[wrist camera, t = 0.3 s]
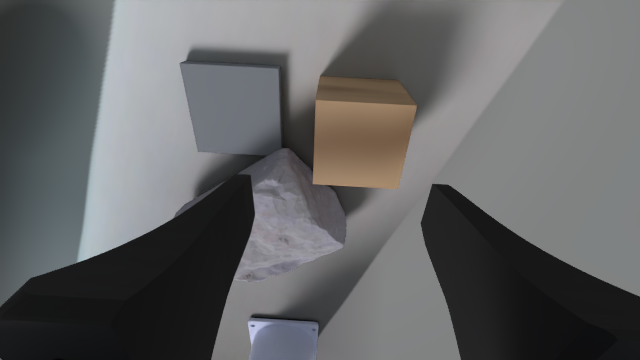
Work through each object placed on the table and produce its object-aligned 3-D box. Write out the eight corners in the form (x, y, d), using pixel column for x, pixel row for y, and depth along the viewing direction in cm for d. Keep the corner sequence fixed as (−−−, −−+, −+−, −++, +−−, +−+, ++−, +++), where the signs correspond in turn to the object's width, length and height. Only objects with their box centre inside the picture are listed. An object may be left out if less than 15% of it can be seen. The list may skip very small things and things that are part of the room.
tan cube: (385, 150, 21) (397, 189, 17) (317, 146, 21) (312, 184, 17) (398, 80, 18) (417, 105, 14) (320, 75, 19) (315, 100, 14)
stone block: (355, 203, 26) (283, 130, 19) (364, 252, 22) (281, 186, 16) (255, 246, 30) (169, 199, 24) (250, 292, 27) (150, 253, 20)
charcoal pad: (283, 151, 21) (281, 156, 21) (202, 146, 22) (198, 151, 21) (280, 65, 18) (278, 68, 17) (185, 60, 18) (179, 63, 18)
